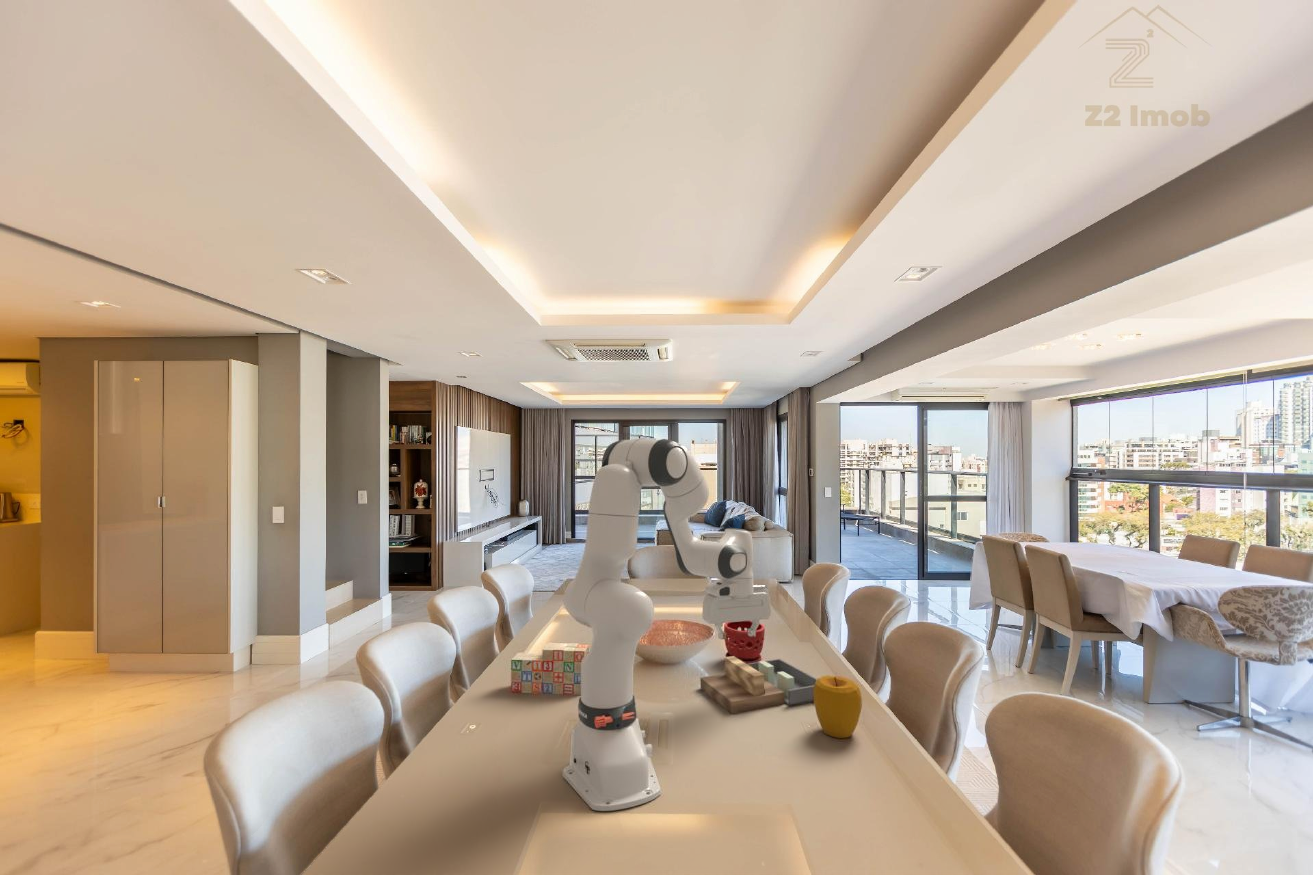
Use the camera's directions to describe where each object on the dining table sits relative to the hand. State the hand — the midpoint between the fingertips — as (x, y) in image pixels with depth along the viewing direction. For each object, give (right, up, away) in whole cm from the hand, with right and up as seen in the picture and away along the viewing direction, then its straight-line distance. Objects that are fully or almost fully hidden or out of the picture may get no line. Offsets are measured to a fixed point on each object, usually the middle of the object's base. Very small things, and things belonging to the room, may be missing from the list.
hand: (737, 637), depth 153 cm
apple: (+21, -15, -22) cm, 34 cm away
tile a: (+12, -13, -1) cm, 18 cm away
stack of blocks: (-53, -17, +5) cm, 56 cm away
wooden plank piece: (+2, -13, 0) cm, 13 cm away
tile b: (+9, -13, +8) cm, 18 cm away
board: (+1, -16, 0) cm, 16 cm away
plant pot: (+6, -18, +26) cm, 33 cm away
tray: (+14, -16, +5) cm, 22 cm away
